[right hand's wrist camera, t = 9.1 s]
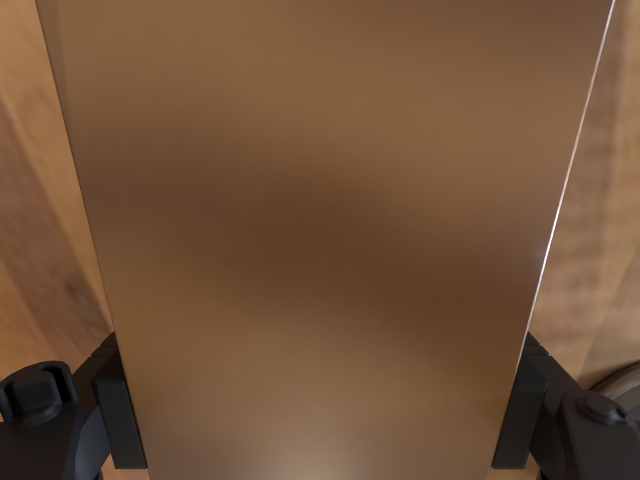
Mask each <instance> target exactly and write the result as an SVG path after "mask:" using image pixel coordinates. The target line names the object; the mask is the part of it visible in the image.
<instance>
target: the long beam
mask: <svg viewBox="0 0 640 480" xmlns="http://www.w3.org/2000/svg"><path fill="white" fill-rule="evenodd" d="M35 2H36V7H37V11H38V15H39V19H40V23H41V27H42V31H43V36H44V40H45V44H46V48H47V52H48V56H49V61H50V65H51V69H52V73H53V77H54V81H55V86H56V90H57V94H58V98H59V102H60V106H61V110H62V115H63V119H64V123H65V127H66V131H67V135H68V140H69V144H70V148H71V152H72V156H73V160H74V165H75V169H76V173H77V177H78V181H79V185H80V189H81V194H82V198H83V202H84V206H85V210H86V214H87V219H88V223H89V227H90V231H91V235H92V239H93V244H94V248H95V252H96V256H97V260H98V264H99V268H100V273H101V277H102V281H103V285H104V289H105V293H106V298H107V302H108V306H109V310H110V314H111V318H112V323H113V327H114V331H115V335H116V339H117V343H118V347H119V352H120V356H121V360H122V364H123V368H124V372H125V377H126V381H127V385H128V389H129V393H130V397H131V402H132V406H133V410H134V414H135V418H136V422H137V426H138V431H139V435H140V439H141V443H142V447H143V451H144V456H145V460H146V464H147V468H148V472H149V476H150V480H488V477H489V473H490V470H491V466H492V462H493V458H494V455H495V451H496V447H497V443H498V440H499V436H500V432H501V428H502V425H503V421H504V417H505V413H506V409H507V406H508V402H509V398H510V394H511V391H512V387H513V383H514V379H515V376H516V372H517V368H518V364H519V361H520V357H521V353H522V349H523V346H524V342H525V338H526V334H527V331H528V327H529V323H530V319H531V316H532V312H533V308H534V304H535V300H536V297H537V293H538V289H539V285H540V282H541V278H542V274H543V270H544V267H545V263H546V259H547V255H548V252H549V248H550V244H551V240H552V237H553V233H554V229H555V225H556V222H557V218H558V214H559V210H560V207H561V203H562V199H563V195H564V192H565V188H566V184H567V180H568V176H569V173H570V169H571V165H572V161H573V158H574V154H575V150H576V146H577V143H578V139H579V135H580V131H581V128H582V124H583V120H584V116H585V113H586V109H587V105H588V101H589V98H590V94H591V90H592V86H593V83H594V79H595V75H596V71H597V67H598V64H599V60H600V56H601V52H602V49H603V45H604V41H605V37H606V34H607V30H608V26H609V22H610V19H611V15H612V11H613V7H614V4H615V0H35Z"/></svg>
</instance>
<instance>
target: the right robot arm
mask: <svg viewBox="0 0 640 480" xmlns="http://www.w3.org/2000/svg"><path fill="white" fill-rule="evenodd" d="M0 412H1V415H2V417H3V420H4V422H0V480H103V474H102V471H101V467H102V465H103V464H104V462H105V461H106V459H107V457H108V456H109V454H110V452H111V455H112V459H113V462H114V466H115V469H147V464H146V460H145V456H144V451H143V447H142V443H141V439H140V435H139V431H138V426H137V422H136V418H135V414H134V410H133V406H132V402H131V397H130V393H129V389H128V385H127V381H126V377H125V372H124V368H123V364H122V360H121V356H120V352H119V347H118V343H117V339H116V335H115V331H114V332H112V333H111V334H110V335H109V336H108V337H107V338H106V339H105V340H104V341H103V342H102V344H101V345H100V347H98V348H97V349H96V350H95V351H94V352H93V353H92V354H91V357H89V358H88V359H87V360H86V361H85V362H84V363H83V364H82V365H81V366H80V367H79V368H78V369H77V370H76V371H75V373H74V374H73V375H71V372H70V369H69V366H68V365H67V364H65V363H64V362H61V361H46V362H40V363H36V364H33V365H30V366H27V367H25V368H22V369H20V370H18V371H16V372H14V373H12V374H11V375H9V376H8V377H7V378H5V379H4V380H2V381H1V382H0ZM529 451H530V453H531V454H532V456H533V457H534V459H535V461H536V462H537V464H538V466H539V467H540V468H539V471H538V474H537V477H536V480H640V363H638V364H636V365H633V366H631V367H628V368H626V369H624V370H622V371H620V372H618V373H616V374H614V375H613V376H611V377H609V378H608V379H606V380H605V381H603V382H601V383H600V384H599V385H597V386H596V387H595V388H593V389H592V390H591V391H590V390H584V389H582V388H581V387H580V386H579V385H578V384H577V383H576V382H575V381H574V380H573V379H572V377H571V376H570V375H569V374H568V373H567V372H566V371H565V370H564V369H563V368H562V367H561V366H560V365H559V364H558V363H557V361H556V360H555V359H554V358H553V357H552V356H549V353H548V352H547V351H546V350H545V349H544V348H543V347H542V346H540V343H539V342H538V341H537V340H536V339H535V338H534V337H533V336H532V335H531V334H530V333H529V332H528V331H527V334H526V338H525V342H524V346H523V349H522V353H521V357H520V361H519V364H518V368H517V372H516V376H515V379H514V383H513V387H512V391H511V394H510V398H509V402H508V406H507V409H506V413H505V417H504V421H503V425H502V428H501V432H500V436H499V440H498V443H497V447H496V451H495V455H494V458H493V462H492V467H493V469H524V468H525V465H526V461H527V458H528V455H529Z"/></svg>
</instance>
